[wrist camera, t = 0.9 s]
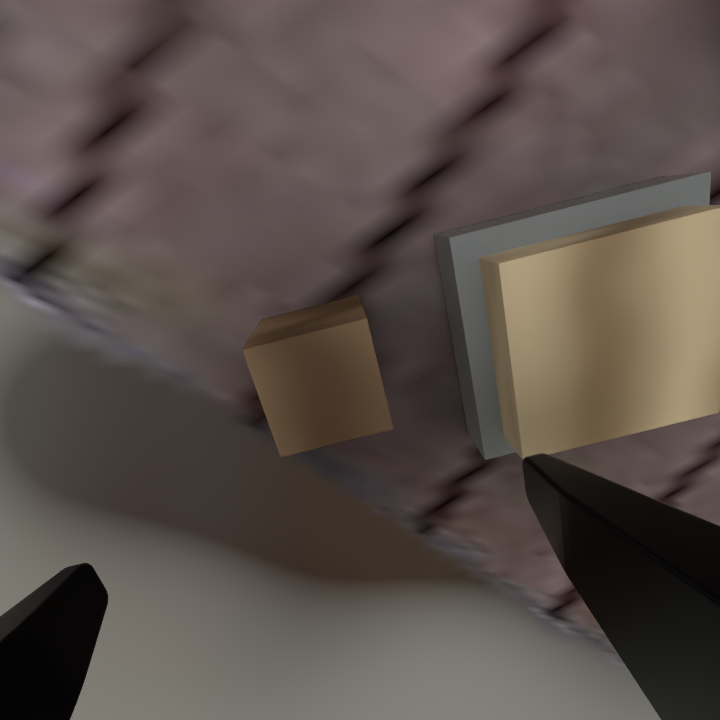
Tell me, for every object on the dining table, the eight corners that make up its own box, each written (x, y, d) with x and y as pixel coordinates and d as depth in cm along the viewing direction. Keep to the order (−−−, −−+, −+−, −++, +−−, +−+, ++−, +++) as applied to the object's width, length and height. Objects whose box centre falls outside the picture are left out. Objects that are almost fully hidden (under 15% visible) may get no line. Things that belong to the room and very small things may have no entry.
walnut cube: (358, 294, 19) (366, 318, 15) (380, 384, 20) (393, 429, 16) (261, 319, 19) (242, 349, 15) (290, 406, 20) (280, 457, 16)
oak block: (684, 205, 16) (731, 204, 14) (679, 392, 19) (719, 412, 17) (478, 257, 16) (498, 263, 14) (503, 435, 19) (523, 460, 17)
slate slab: (661, 176, 18) (711, 171, 16) (660, 385, 21) (701, 406, 19) (433, 234, 18) (449, 237, 16) (467, 433, 22) (485, 460, 19)
